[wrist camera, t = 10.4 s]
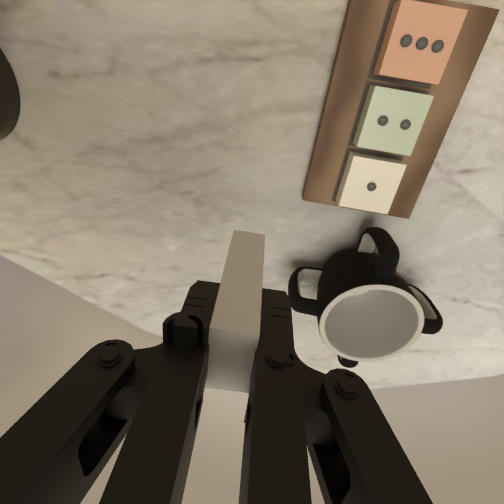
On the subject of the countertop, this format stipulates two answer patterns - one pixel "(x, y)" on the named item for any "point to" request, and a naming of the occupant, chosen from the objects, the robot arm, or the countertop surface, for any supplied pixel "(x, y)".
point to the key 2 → (391, 120)
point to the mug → (365, 302)
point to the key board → (361, 77)
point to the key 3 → (419, 41)
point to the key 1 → (370, 182)
